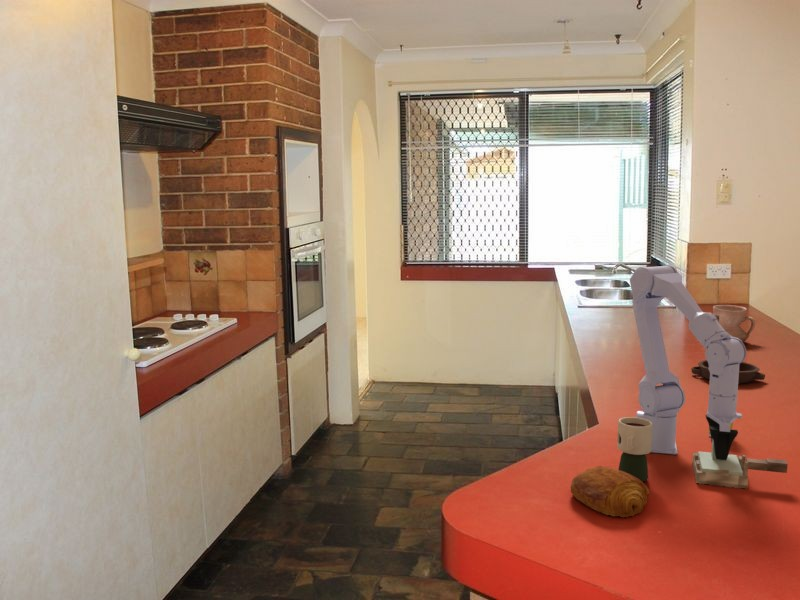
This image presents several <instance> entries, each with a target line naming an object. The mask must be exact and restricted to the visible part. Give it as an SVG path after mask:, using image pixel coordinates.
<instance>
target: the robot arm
mask: <svg viewBox="0 0 800 600" xmlns="http://www.w3.org/2000/svg"><path fill="white" fill-rule="evenodd" d="M629 283H630V289H631V293H632V308H633V313H634V317H635V324H636V329H637V334H638V339H639V344H640V351H641V355H642V356H641V357H642V360H643V366H644V367H643V368H644V372H645V375H644V376H643V377H642V379H641V380H640V381H639V383H638V388H639V393H638V404H639V406H640V408H641V409H642V410H636V416H635V417H638V418H643V419H647V420H649V421H651V422H652V423H653V428H652V447H651V452H650V453H655V454H665V455H666V454H667V455H678V448H677V447H678V446H677V443H676V438H677V437H676V435H677V419H678V418H677V417H678V413H679V414H680V409H682V408H683V406H684V405H685V402H686V394H685V393H686V392H685V391H684V389H683V388H682V386H681V383H680V378H679V377H678V376H677V375H676V374H674V373H673V372H671V371H670V365H669V361H668V357H667V352H666V346H665V341H664V335H663V332H662V326H661V321H660V320H661V319H660V315H659V310H658V306H659V304H660V303H661V302H662V301H663V300H664V299H665V298H666V299H668V300H669V301H670V302H671V303H672V304H673V305H674V306H675V307H676V308H677V309H678V311H680V312H681V314H682V315H683V316H684V317H685V318H686V319H687V320H688V321H689V322H688V323H689V324H688V330H689V331H690V332H691V333H692V334H693V335H694V337H695V338H696V339H697V341H699V343H700V344H701V346H702V347H703V349H704V350H705V351H704V356H705V360H707V361H708V364H709V371H710V380H709V384H708V385H709V387H708V400H707V401H708V403H707V411H706V414H705V418H706V421H707V423H708V429H709V430H710V433H711V437H710V439H711V443H712V438H713V441H714V450H715V456H716V459H718V460H727V457H728V454H730V450H731V447H732V444H733V442H734V440H735V439H736V437H737V436H738V434H739V432H738V431H739V430H737V429H732V430H731V429H730V425H731V423H732V422H733V423H734V421H736V420H737V419H739V420H740V419H743V414H742V413H740V412H737V404H738V393H739V392H738V390H739V384H738V378H739V364H740V363H742V362H745V360H746V358H747V357H746V356H747V347H746V346H745V343H744V342H742V340H740V339H739V338H735V337H732V336H731V335H729V334H728V332H726V331H725V330H724V329H723V327H722V326H721V325H720V324H719V323H718V321H717V320H716V319H717V318H716V317H715V315H712V314H711V313H712V312H706V311H705V312H704V311H702V309H701V307H700V306H699V304H697V302H696V300H695V299H694V297H693V296H692V295H691V293H690V292H689V290H688V289H687V287H686V286H685V285H684V284H683V276H682V274H680V273H679V272H678V270H677V269H676V267H675V266H673V265H670V264H666V265H661V266H659V265H658V266H656V265H655V266H639V267H637V268H636V269H635V270H634V271H633V273H632V275H631V277H630V278H629ZM660 384H661V385H660ZM709 430H708V431H709Z"/></svg>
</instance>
